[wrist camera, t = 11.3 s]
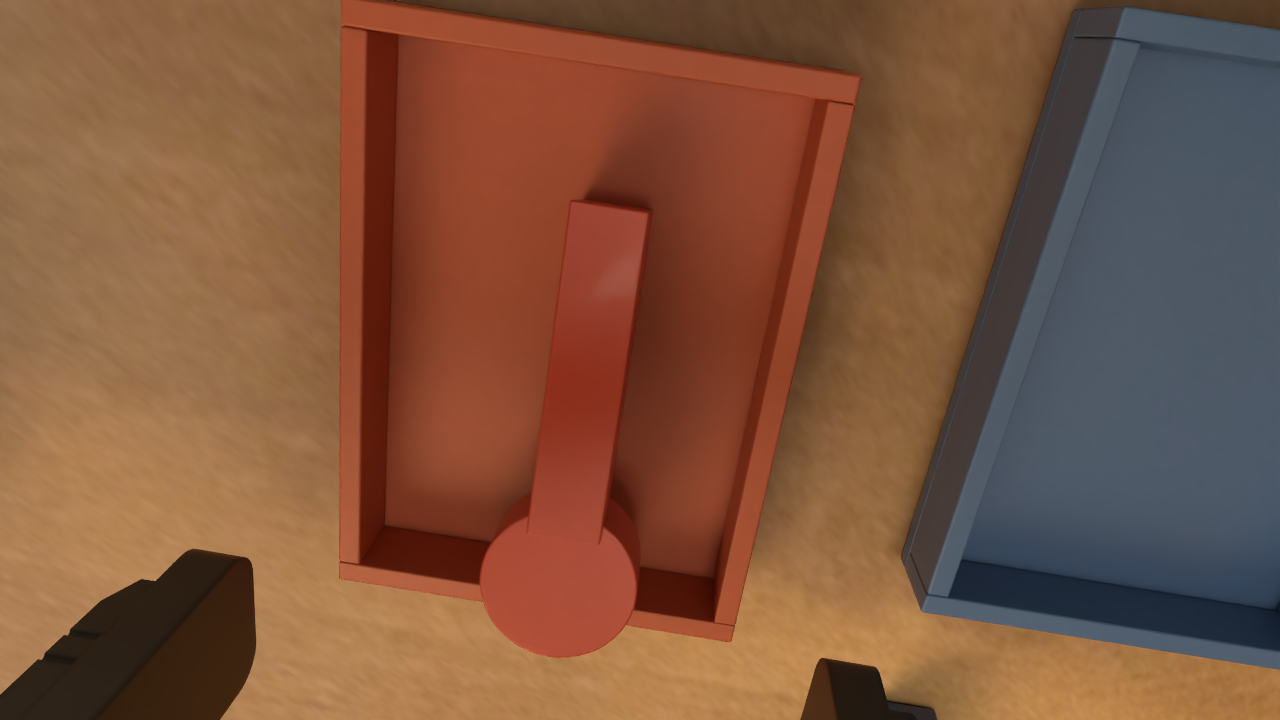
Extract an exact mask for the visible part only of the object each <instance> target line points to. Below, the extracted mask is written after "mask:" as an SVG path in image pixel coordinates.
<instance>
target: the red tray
mask: <svg viewBox="0 0 1280 720" xmlns="http://www.w3.org/2000/svg"><path fill="white" fill-rule="evenodd" d="M341 24H342V25H343V26H342V27H341V168H340V533H339V559H340V562H339V578H340V579H345V580H351V581H357V582H363V583H369V584H376V585H382V586H388V587H394V588H400V589H406V590H412V591H419V592H425V593H431V594H437V595H443V596H449V597H455V598H461V599H468V600H474V601H480V602H483V600H482V596H481V592H480V570H481V565H482V561H483V558H484V555H485V553H486V551H487V549H488V547H489V545H490V543H491V541H492V540H493V538H494V536H495V534H496V532H497V530H498V528H499V527H500V525H501V523H502V521H503V519H504V517H505V516H506V514H507V513H508V511H509V510H510V509H511V508H512V507H513V506H514V505H515V503H516V502H518V501H519V500H520V499H521V498H523V497H524V496H526V495H527V494H529V493H531V492H532V485H533V477H534V470H535V462H536V454H537V447H538V439H539V432H540V424H541V416H542V409H543V401H544V394H545V386H546V378H547V371H548V363H549V355H550V348H551V340H552V333H553V325H554V317H555V310H556V302H557V295H558V287H559V279H560V272H561V264H562V257H563V249H564V241H565V234H566V226H567V219H568V211H569V203H570V201H571V200H579V199H587V200H593V201H600V202H606V203H612V204H619V205H625V206H632V207H638V208H645V209H651V210H653V216H652V223H651V229H650V236H649V243H648V249H647V256H646V262H645V269H644V276H643V282H642V289H641V295H640V302H639V308H638V315H637V322H636V328H635V335H634V341H633V348H632V354H631V361H630V368H629V374H628V381H627V387H626V394H625V400H624V407H623V414H622V420H621V427H620V433H619V440H618V446H617V453H616V460H615V466H614V473H613V479H612V486H611V493H610V498H611V499H612V500H614V501H615V502H616V503H617V504H618V505H619V506H621V508H622V509H623V510H624V511H625V512H626V513H627V515H628V516H629V518H630V519H631V521H632V523H633V525H634V527H635V529H636V531H637V534H638V537H639V542H640V547H641V561H640V571H639V581H638V591H637V599H636V603H635V607H634V610H633V612H632V615H631V617H630V619H629V621H628V622H627V624H626V625H627V626H633V627H639V628H646V629H652V630H658V631H664V632H670V633H676V634H682V635H689V636H695V637H701V638H707V639H713V640H719V641H725V642H731V641H732V637H733V632H734V628H735V624H736V619H737V615H738V611H739V606H740V602H741V598H742V593H743V589H744V585H745V580H746V576H747V572H748V568H749V563H750V559H751V555H752V550H753V546H754V542H755V537H756V533H757V529H758V524H759V520H760V516H761V511H762V507H763V503H764V498H765V494H766V490H767V486H768V481H769V477H770V473H771V468H772V464H773V460H774V455H775V451H776V447H777V442H778V438H779V434H780V429H781V425H782V421H783V417H784V412H785V408H786V404H787V399H788V395H789V391H790V386H791V382H792V378H793V373H794V369H795V365H796V360H797V356H798V352H799V347H800V343H801V339H802V335H803V330H804V326H805V322H806V317H807V313H808V309H809V304H810V300H811V296H812V291H813V287H814V283H815V278H816V274H817V270H818V265H819V261H820V257H821V253H822V248H823V244H824V240H825V235H826V231H827V227H828V222H829V218H830V214H831V209H832V205H833V201H834V196H835V192H836V188H837V183H838V179H839V175H840V171H841V166H842V162H843V158H844V153H845V149H846V145H847V140H848V136H849V132H850V127H851V123H852V119H853V114H854V110H855V105H853V104H855V102H856V101H857V96H858V92H859V88H860V83H861V76H860V75H858V74H854V73H850V72H847V71H843V70H838V69H831V68H825V67H818V66H812V65H805V64H799V63H792V62H786V61H779V60H773V59H766V58H760V57H753V56H747V55H740V54H733V53H727V52H720V51H714V50H707V49H701V48H694V47H688V46H681V45H675V44H668V43H662V42H655V41H649V40H642V39H636V38H629V37H623V36H616V35H610V34H603V33H597V32H590V31H584V30H577V29H571V28H564V27H558V26H551V25H545V24H538V23H531V22H525V21H518V20H512V19H505V18H499V17H492V16H486V15H479V14H473V13H466V12H460V11H453V10H447V9H440V8H434V7H427V6H421V5H414V4H408V3H401V2H395V1H388V0H341Z"/></svg>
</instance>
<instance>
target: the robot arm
mask: <svg viewBox="0 0 1280 720" xmlns="http://www.w3.org/2000/svg"><path fill="white" fill-rule="evenodd" d="M255 650H256V629H255V606H254V583H253V568H252V564H251V562H250V560H249V559H248V558H245V557H240V556H234V555H228V554H222V553H217V552H211V551H205V550H199V549H191V550H188V551H187V552H185V553H184V554H183V555H182V556H181V557H180V558H178V559H177V560H176V561H175V562H174V563H173V564H172V565H171V566H170V567H169V568H168V569H167V570H166V571H165V572H164V573H163V574H162V575H161V576H160V577H159V578H158V579H157V580H156V581H150V580H144V579H141V580H139V581H137V582H135V583H133V584H132V585H130V586H128V587H126V588H124V589H122V590H120V591H118V592H117V593H115V594H113V595H111V596H109V597H107V598H105V599H103V600H102V601H100V602H99V603H98V604H97V605H96V606H95V607H94V608H93V609H92V610H90V611H89V612H88V613H87V614H86V615H85V616H84V617H83V618H82V619H81V620H80V621H79V622H78V623H77V624H75V625H74V626H73V627H72V628H71V629H70V633H69V635H68V636H66V635H64V636H63V637H62V638H61V639H59V640H58V641H57V642H56V643H55V644H54V645H53V646H52V647H51V648H50V649H49V650H48V651H47V652H46V653H45V655H44V658H43V659H42V660H37V661H36V662H35V663H34V664H33V665H32V666H31V667H29V668H28V669H27V670H26V671H25V672H24V673H23V674H22V675H21V676H20V677H19V678H18V679H17V680H16V681H15V682H13V683H12V684H11V685H10V686H9V687H8V688H7V689H6V690H5V691H4V692H3V693H2V694H1V695H0V720H220V719H221V717H222V716H223V715H224V713H225V712H226V710H227V709H228V708H229V706H230V705H231V703H232V702H233V701H234V699H235V698H236V696H237V695H238V694H239V692H240V691H241V689H242V687H243V686H244V684H245V682H246V680H247V678H248V675H249V673H250V670H251V667H252V664H253V660H254V656H255ZM801 720H917V718H916V717H915V716H914V714H912V713H906V712H900V711H895V710H889V707H888V703H887V699H886V695H885V692H884V688H883V684H882V680H881V677H880V673H879V671H878V670H877V668H876V667H873V666H867V665H861V664H856V663H850V662H844V661H838V660H832V659H826V658H821V659H820V660H819V662H818V663H817V666H816V669H815V672H814V675H813V679H812V682H811V686H810V689H809V693H808V696H807V699H806V703H805V706H804V710H803V713H802V717H801Z"/></svg>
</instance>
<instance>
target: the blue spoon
mask: <svg viewBox="0 0 1280 720" xmlns="http://www.w3.org/2000/svg"><path fill="white" fill-rule="evenodd" d="M887 703H888V707H889V710H895V711H900V712H906V713H912V714H914V716H915V717H916V718H917V720H937V717H936V714H935V711H934V710H933V709H928V708H922V707H915V706H909V705H903V704H897V703H891V702H887Z"/></svg>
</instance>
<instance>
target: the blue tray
mask: <svg viewBox="0 0 1280 720" xmlns="http://www.w3.org/2000/svg"><path fill="white" fill-rule="evenodd" d="M901 559H902V562H903V565H904V567H905V569H906V572H907V575H908V577H909V580H910V583H911V585H912V588H913V591H914V593H915V596H916V598H917V601H918V604H919V606H920V609H921V611H922V612H926V613H933V614H939V615H945V616H951V617H957V618H963V619H970V620H976V621H982V622H988V623H994V624H1000V625H1007V626H1013V627H1019V628H1025V629H1031V630H1038V631H1044V632H1050V633H1056V634H1062V635H1068V636H1075V637H1081V638H1087V639H1093V640H1099V641H1105V642H1112V643H1118V644H1124V645H1130V646H1136V647H1143V648H1149V649H1155V650H1161V651H1167V652H1173V653H1180V654H1186V655H1192V656H1198V657H1204V658H1210V659H1217V660H1223V661H1229V662H1235V663H1241V664H1247V665H1254V666H1260V667H1266V668H1272V669H1278V670H1280V29H1274V28H1268V27H1261V26H1254V25H1248V24H1241V23H1235V22H1228V21H1221V20H1215V19H1208V18H1202V17H1195V16H1188V15H1182V14H1175V13H1169V12H1162V11H1155V10H1149V9H1142V8H1136V7H1129V6H1120V7H1104V8H1087V9H1075V10H1074V11H1073V14H1072V17H1071V20H1070V23H1069V26H1068V29H1067V33H1066V36H1065V39H1064V42H1063V45H1062V48H1061V52H1060V55H1059V58H1058V61H1057V64H1056V67H1055V71H1054V74H1053V77H1052V80H1051V83H1050V86H1049V90H1048V93H1047V96H1046V99H1045V102H1044V105H1043V109H1042V112H1041V115H1040V118H1039V121H1038V125H1037V128H1036V131H1035V134H1034V137H1033V140H1032V144H1031V147H1030V150H1029V153H1028V156H1027V159H1026V163H1025V166H1024V169H1023V172H1022V175H1021V178H1020V182H1019V185H1018V188H1017V191H1016V194H1015V197H1014V201H1013V204H1012V207H1011V210H1010V213H1009V216H1008V220H1007V223H1006V226H1005V229H1004V232H1003V236H1002V239H1001V242H1000V245H999V248H998V251H997V255H996V258H995V261H994V264H993V267H992V270H991V274H990V277H989V280H988V283H987V286H986V289H985V293H984V296H983V299H982V302H981V305H980V308H979V312H978V315H977V318H976V321H975V324H974V327H973V331H972V334H971V337H970V340H969V343H968V347H967V350H966V353H965V356H964V359H963V362H962V366H961V369H960V372H959V375H958V378H957V381H956V385H955V388H954V391H953V394H952V397H951V400H950V404H949V407H948V410H947V413H946V416H945V419H944V423H943V426H942V429H941V432H940V435H939V438H938V442H937V445H936V448H935V451H934V454H933V458H932V461H931V464H930V467H929V470H928V473H927V477H926V480H925V483H924V486H923V489H922V492H921V496H920V499H919V502H918V505H917V508H916V511H915V515H914V518H913V521H912V524H911V527H910V530H909V534H908V537H907V540H906V543H905V546H904V549H903V553H902V556H901Z"/></svg>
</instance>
